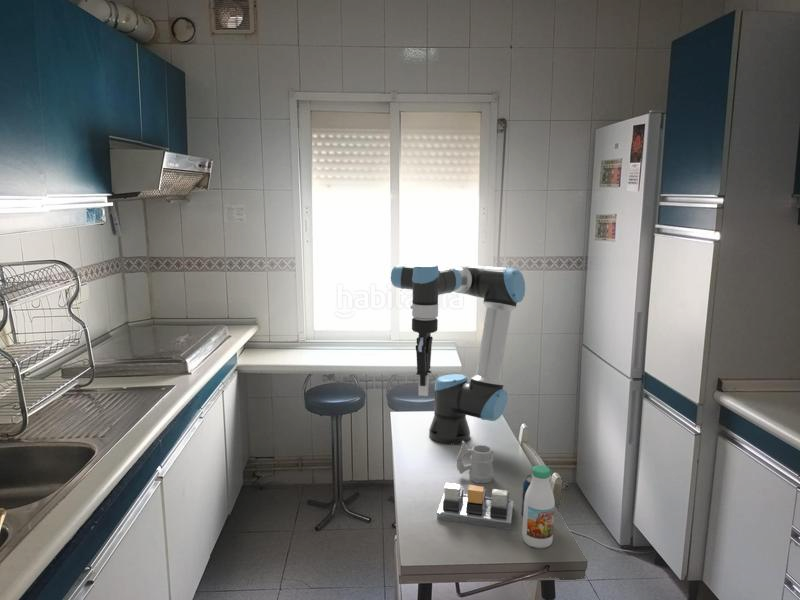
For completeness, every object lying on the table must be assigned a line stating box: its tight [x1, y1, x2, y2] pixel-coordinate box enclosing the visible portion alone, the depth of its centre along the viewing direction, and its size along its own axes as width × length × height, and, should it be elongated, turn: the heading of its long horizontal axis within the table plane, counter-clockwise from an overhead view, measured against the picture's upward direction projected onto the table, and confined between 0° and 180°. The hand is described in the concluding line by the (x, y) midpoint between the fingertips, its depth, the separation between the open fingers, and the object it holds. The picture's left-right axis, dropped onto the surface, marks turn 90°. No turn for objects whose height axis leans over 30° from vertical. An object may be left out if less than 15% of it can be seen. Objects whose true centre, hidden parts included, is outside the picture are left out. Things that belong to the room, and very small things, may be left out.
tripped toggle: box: [467, 484, 485, 504], centre depth 160 cm, size 3×4×4 cm
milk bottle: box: [521, 464, 556, 549], centre depth 149 cm, size 8×8×20 cm
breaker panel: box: [436, 482, 514, 531], centre depth 163 cm, size 12×20×9 cm, turn 76°
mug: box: [455, 441, 495, 484], centre depth 183 cm, size 8×12×12 cm, turn 84°
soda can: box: [521, 474, 533, 518], centre depth 159 cm, size 7×7×12 cm
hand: (423, 394), depth 173 cm, fingers closed
